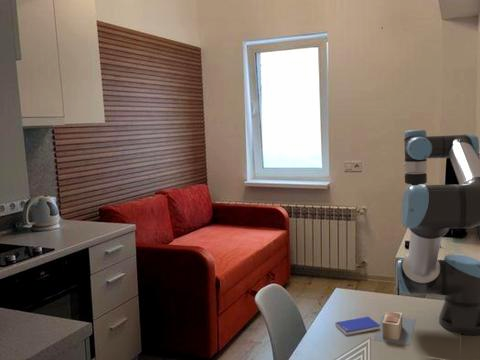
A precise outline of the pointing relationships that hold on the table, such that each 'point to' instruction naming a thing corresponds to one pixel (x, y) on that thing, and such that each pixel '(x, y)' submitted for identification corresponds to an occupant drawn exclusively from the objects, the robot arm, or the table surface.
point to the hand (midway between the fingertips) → (415, 235)
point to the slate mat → (404, 336)
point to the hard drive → (357, 325)
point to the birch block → (392, 325)
